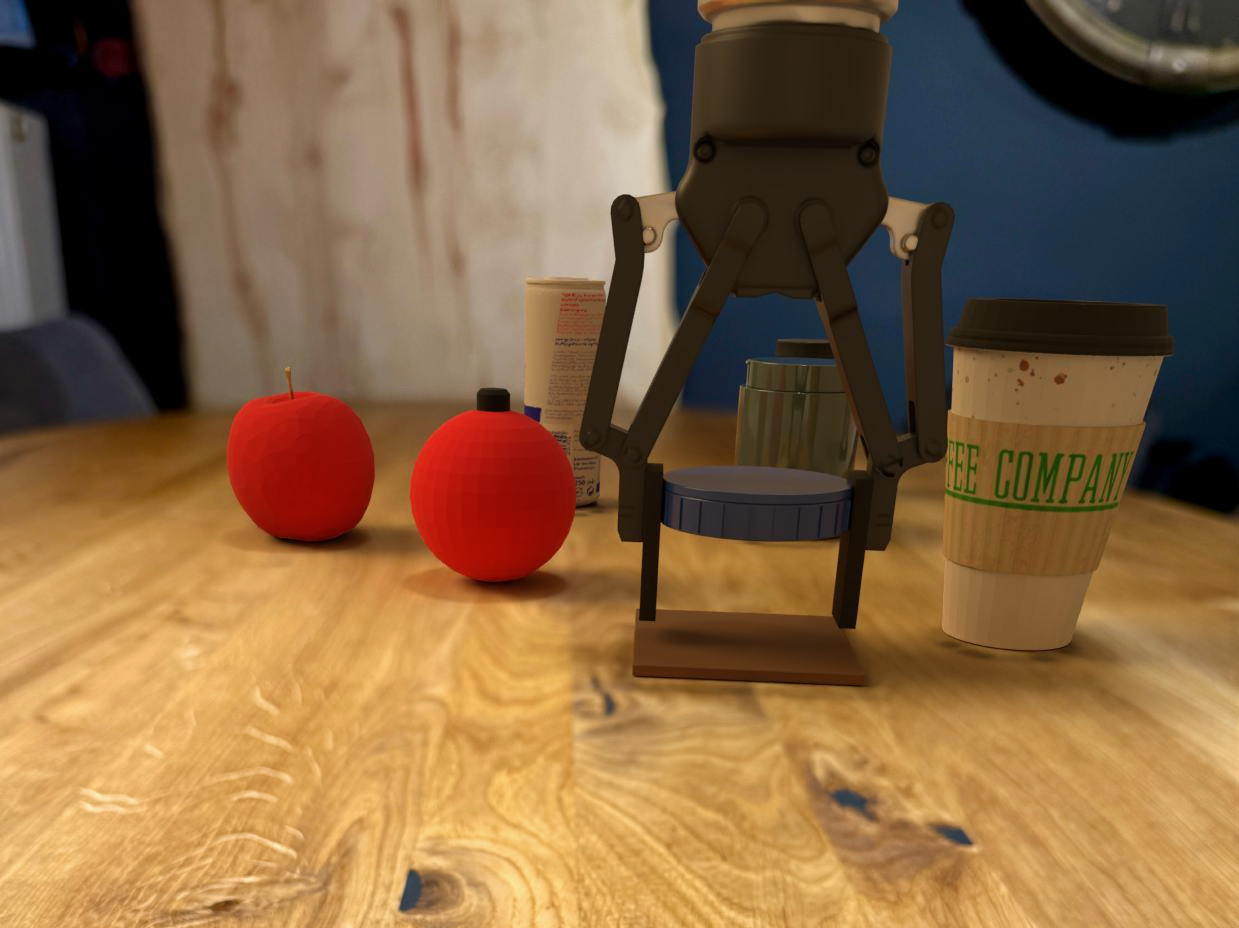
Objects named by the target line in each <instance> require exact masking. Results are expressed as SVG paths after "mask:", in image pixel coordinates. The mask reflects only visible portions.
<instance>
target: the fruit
mask: <svg viewBox="0 0 1239 928" xmlns="http://www.w3.org/2000/svg"><path fill="white" fill-rule="evenodd" d="M291 373H292V367H291V366H286V367H285V369H284V374H285V378H286V382H287V388H288V392H285V393H280V394H273V395H268V396H263V397H257V398H254V399H251V400H249V401H248V402H247V403H245V404H243V405H242V407H241V409H239V411H237V413H236V415H235V416H234V419H233V421H232V423H231V427H230V430H229V434H228V440H227V449H226V467H227V472H228V477H229V482H230V486H231V488H232V490H233V494H234V496H235V498H236V500H237V501H238V503H239V504H240V506H241V508H242V510H243V511H244V513H246V515H247V516H248V517H249V518H250V519H251V521H252V522H253V523H254V524H255V525H256V526H257V528H259V529H260V530H262V531H264V532H265V533H266V534H268V535H270V536H273V537H274V538H278V539H286V540H288V539H289V540H296V541H303V542H308V543H311V542H316V543H317V542H322V541H328V540H333V539H335V538H337V537H339V536H341V535H343V534H345V533H348V532H349V531H351V530H353V529H355V528H356V526H358V524H359V523H360V522H361V521H362V520H363V517H364V516H365V514H366V512H367V510H368V508H369V505H370V502H371V499H372V494H373V491H374V485H375V480H376V467H375V466H376V465H375V452H374V449H373V448H374V447H373V444H372V441H371V438H370V435H369V434H368V431H367V429H366V427H365V425H364V423H363V420H362V419H361V418H360V417H359V415H358V414H357V413H356V412H355V411H354V410H353V408H352V407H350V406H349V405H348V404H347V403H345V402H344V401H343V400H341V399H339V398H337V397H335V396H332V395H328V394H325V393H324V394H323V393H319V392H316V391H315V392H314V391H310V390H307V391H306V390H305V391H294V389H293V384H292V374H291Z"/></svg>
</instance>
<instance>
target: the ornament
mask: <svg viewBox="0 0 1239 928" xmlns="http://www.w3.org/2000/svg"><path fill="white" fill-rule="evenodd" d="M576 498H577V497H576V482H575V477H574V474H573V470H572V466H571V463H570V461H569V459H568V457H567V455H566V453H565V451H564V449H563V448H562V446H561V445H560V444H559V442H558V441H557V440H556V438H555V437H554V436H553V435H552V434H551V433H550V432H549V431H548V430H547V429H546V428H544V427H543V426H542V425H541V424H540V423H538V422H537V421H535V420H533V419H532V418H530V417H528V416H526V415H524V413H521V412H518V411H515V410H512V409H511V393H510V391H509V390H508V389H507V388H503V387H481V388H480V389H479V390H478V391H476V409H472V410H468V411H465V412H462V413H460V414H457V415H456V416H454V417H452V418H450V419H448V420H447V421H445V422H444V423H443V424H442V425H441V426H439V428H437V429H436V430H435V431H433V433H432V434H431V435H430V437H429V438H428V439H427V440H426V442H425V443H424V445H422V447H421V449H420V451H419V454H418V455H417V457H416V460H415V462H414V465H413V469H412V473H411V476H410V485H409V501H410V508H411V514H412V518H413V520H414V522H415V526H416V529H417V532H418V534H419V535H420V537H421V539H422V542H424V544H425V546H426V547H427V548H428V550H429V551H430V552H431V553H432V554H433V556H434V557H435V558H436V559H437V560H438V561H440V562H441V563H443V564H444V565H445V566H446V567H448V569H450V570H452V571H453V572H455V573H458V574H459V575H461V576H463V577H466V578H468V579H471V580H472V579H473V580H477V581H482V582H487V583H488V582H489V583H501V582H509V581H512V580H519V579H521V578H524V577H525V576H527V575H531V574H532V573H534V572H536V571H538V570H539V569H540V568H542V567H543V566H544V565H546V564H547V563H548V562H550V560H552V558H554V557H555V555H556V554H557V552H558V551H560V549H561V548H562V547H563V545H564V543H565V541H566V540H567V538H568V536H569V534H570V532H571V529H572V525H573V522H574V519H575V516H576V515H575V514H576V507H577V506H576Z"/></svg>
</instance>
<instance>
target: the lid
mask: <svg viewBox="0 0 1239 928" xmlns="http://www.w3.org/2000/svg"><path fill="white" fill-rule="evenodd" d="M852 493H853V484H852V483H851V482H850V481H849V480H846V479H844V478H841V477H838V476H834V475H829V474H825V473H819V472H813V471H805V470H797V469H787V468H775V467H757V466H734V465H708V466H707V465H705V466H694V467H683V468H678V469H673V470H670V471H667V472H663V491H662V509H661V524H662V525H663V526H665V527H667V528H669V529H672V530H674V531H678V532H681V533H686V534H689V535H694V536H699V537H706V538H713V539H719V540H720V539H721V540H722V539H723V540H731V541H732V540H733V541H743V542H764V543H765V542H770V543H781V542H782V543H785V542H791V543H793V542H805V541H806V542H809V541H819V540H827V539H826V538H829V539H832V538H831V537H835V538H837V537H836V536H838V535H841V534H844V533H845V532H846V531H848V527H849V519H850V510H851V502H852Z"/></svg>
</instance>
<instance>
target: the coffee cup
mask: <svg viewBox="0 0 1239 928" xmlns="http://www.w3.org/2000/svg"><path fill="white" fill-rule="evenodd" d="M1168 312H1169V307H1168V305H1166V304H1158V303H1156V304H1155V303H1141V302H1140V303H1139V302H1122V301H1121V302H1118V301H1099V300H1097V301H1096V300H1070V299H1045V298H1044V299H1043V298H1042V299H1041V298H1009V297H1008V298H1005V297H968V298H967V299H966V302H965V304H964V307H963V309H962V311H961V315H960V317H959V320H958V321H957V325H953V326H951V328H950V329H949V331H948V334H949V336H948V337H946V340H945V345H946V346H948V347H953V363H952V388H951V408H950V409H948V410H947V438H948V448H947V452H946V454H945V477H944V478H945V479H944V483H945V484H944V502H943V503H944V505H943V530H942V531H943V532H942V555H943V557H944V570H943V571H944V574H943V577H944V578H943V594H942V596H943V597H942V598H943V599H942V615H941V616H942V617H941V629H942V630H943V631H942V632H944V633H945V634H946V635H948V636H950V637H952V638H955V639H957V640H960V641H962V642H966V643H970V644H973V645H979V646H983V647H990V648H996V649H1005V650H1016V651H1045V650H1055V649H1060V648H1062V647H1065V646H1068V645H1069V644H1070V643H1071V641H1072V640H1073V635H1074V633H1075V629H1076V627H1077V623H1078V620H1079V617H1080V614H1081V611H1082V609H1083V605H1084V602H1085V599H1086V596H1087V593H1088V589H1089V587H1090V583H1091V580H1092V578H1093V574H1094V572H1095V571H1097V570H1098V569H1099V568H1100V567H1099V566H1100V563H1101V561H1102V558H1103V556H1104V555H1103V554H1104V551H1105V549H1106V547H1107V542H1108V541H1109V540H1108V539H1109V537H1110V533H1111V530H1112V528H1113V524H1114V523H1115V522H1114V521H1115V519H1116V516H1117V513H1118V510H1119V507H1120V504H1121V500H1122V498H1123V494H1124V492H1125V488H1126V486H1127V482H1128V480H1129V477H1130V473H1131V471H1132V468H1133V464H1134V462H1135V458H1136V457H1137V456H1136V455H1137V452H1138V450H1139V446H1140V444H1141V440H1142V437H1143V434H1144V431H1145V428H1146V425H1147V422H1146V421H1145V420H1144V418H1145V414H1146V411H1147V408H1148V405H1149V402H1150V399H1151V396H1152V393H1153V390H1154V387H1155V385H1156V381H1157V378H1158V375H1159V372H1160V369H1161V366H1162V363H1163V360H1164V357H1172V356H1174V355H1175V347H1174V344H1175V342H1176V341H1175V340H1176V339H1175V337H1174V336H1173V335H1170V333H1169V331H1170V330H1169V313H1168Z"/></svg>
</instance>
